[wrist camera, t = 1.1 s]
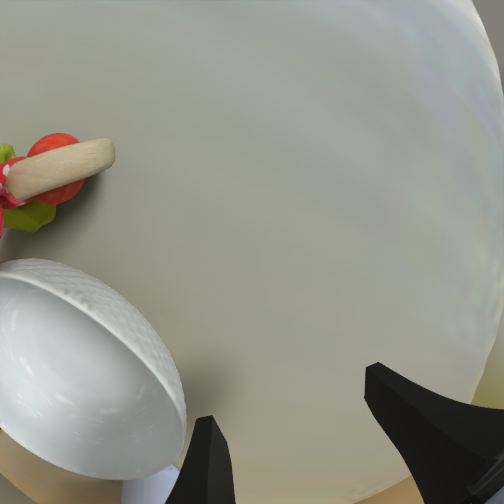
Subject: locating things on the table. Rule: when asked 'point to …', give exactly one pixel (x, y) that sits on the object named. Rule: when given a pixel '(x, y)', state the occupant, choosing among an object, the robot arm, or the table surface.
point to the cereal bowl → (85, 375)
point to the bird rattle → (47, 177)
